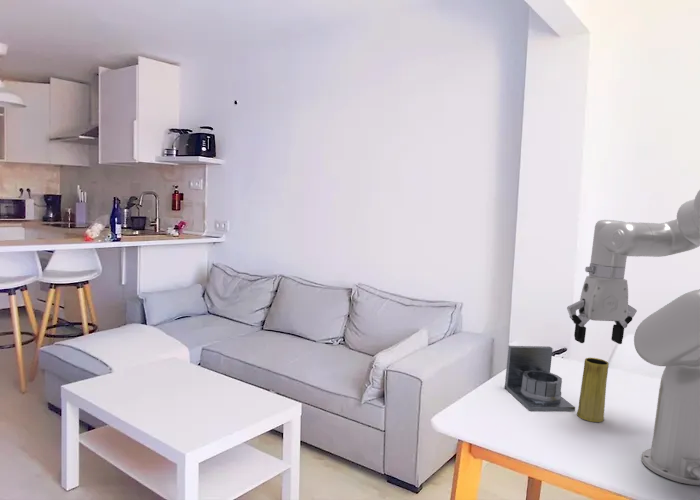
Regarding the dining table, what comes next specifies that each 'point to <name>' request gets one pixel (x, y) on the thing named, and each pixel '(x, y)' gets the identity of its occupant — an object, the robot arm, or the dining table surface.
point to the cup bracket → (534, 379)
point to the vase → (593, 390)
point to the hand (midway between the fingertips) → (597, 341)
